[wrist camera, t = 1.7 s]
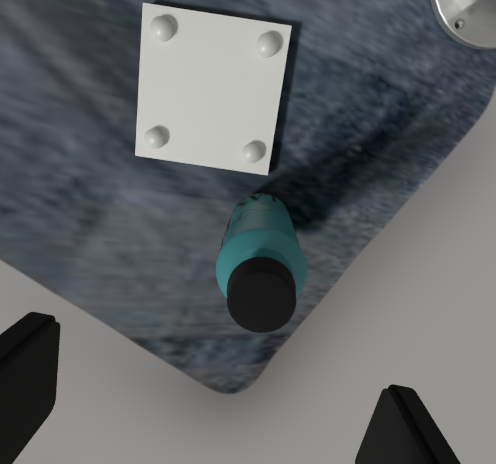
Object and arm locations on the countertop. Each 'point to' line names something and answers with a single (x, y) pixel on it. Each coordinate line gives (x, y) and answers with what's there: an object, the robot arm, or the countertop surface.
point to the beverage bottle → (261, 264)
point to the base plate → (209, 88)
